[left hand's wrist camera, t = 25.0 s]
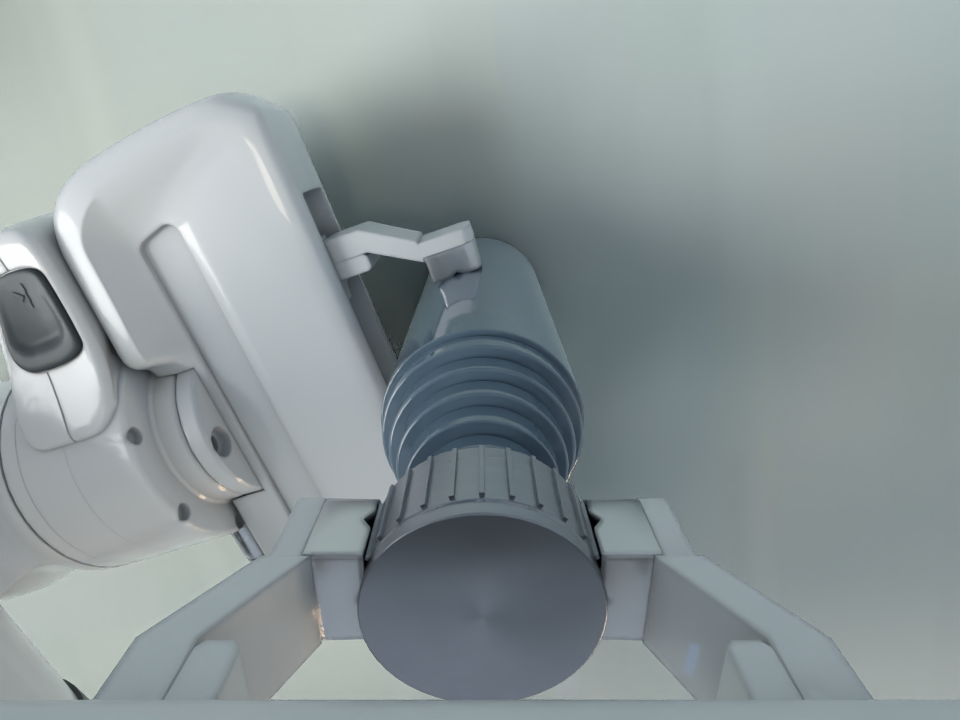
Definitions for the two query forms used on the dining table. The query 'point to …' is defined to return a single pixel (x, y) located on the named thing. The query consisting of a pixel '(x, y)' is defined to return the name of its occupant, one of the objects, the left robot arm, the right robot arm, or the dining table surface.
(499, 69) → the dining table surface
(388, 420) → the bottle
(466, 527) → the cap
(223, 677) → the left robot arm
